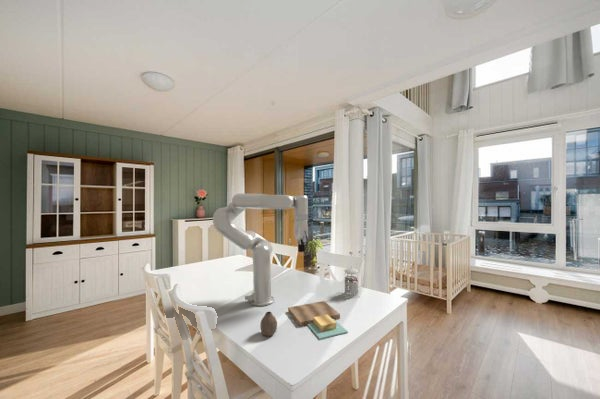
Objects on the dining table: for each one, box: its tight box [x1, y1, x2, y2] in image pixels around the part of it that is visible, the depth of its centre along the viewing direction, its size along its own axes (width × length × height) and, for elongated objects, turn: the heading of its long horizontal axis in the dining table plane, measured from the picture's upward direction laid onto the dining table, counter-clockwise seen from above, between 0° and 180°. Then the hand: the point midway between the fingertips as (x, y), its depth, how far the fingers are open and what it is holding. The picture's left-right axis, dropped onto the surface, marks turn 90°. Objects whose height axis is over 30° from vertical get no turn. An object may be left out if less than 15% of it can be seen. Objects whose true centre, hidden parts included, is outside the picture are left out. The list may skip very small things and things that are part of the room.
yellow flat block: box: [313, 315, 336, 332], centre depth 107 cm, size 7×8×2 cm
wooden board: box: [287, 300, 341, 328], centre depth 119 cm, size 20×16×2 cm
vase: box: [259, 311, 278, 337], centre depth 102 cm, size 7×7×9 cm
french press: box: [342, 251, 361, 299], centre depth 144 cm, size 10×12×25 cm
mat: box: [307, 319, 349, 341], centre depth 106 cm, size 13×12×1 cm
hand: (301, 251), depth 135 cm, fingers closed
